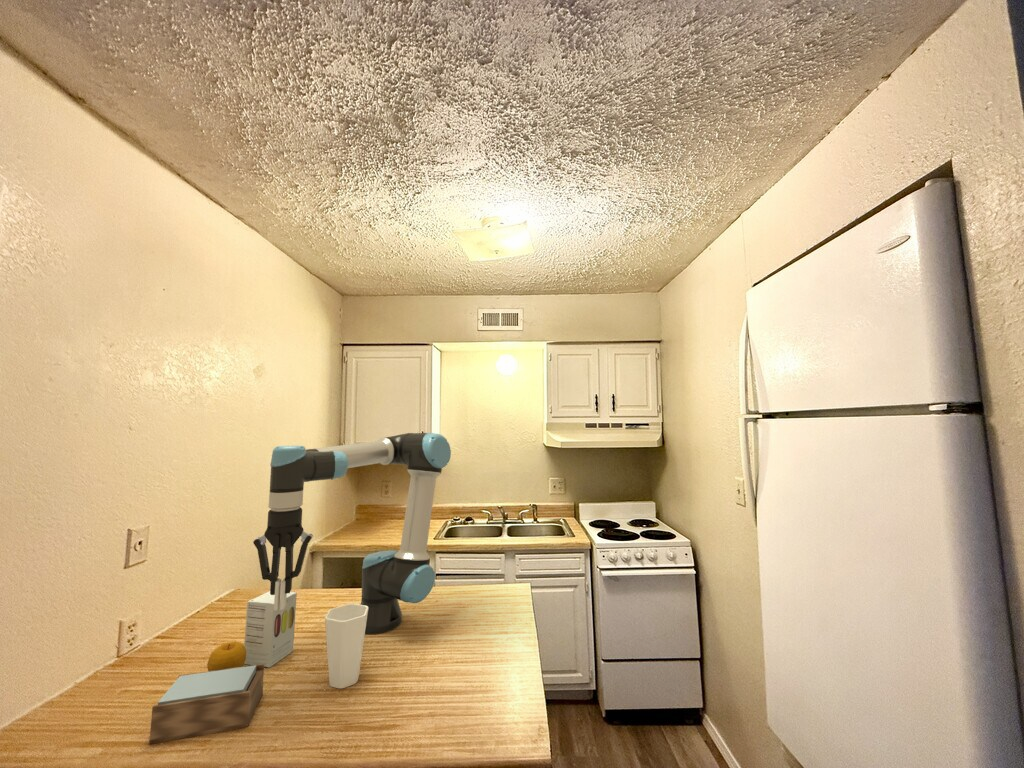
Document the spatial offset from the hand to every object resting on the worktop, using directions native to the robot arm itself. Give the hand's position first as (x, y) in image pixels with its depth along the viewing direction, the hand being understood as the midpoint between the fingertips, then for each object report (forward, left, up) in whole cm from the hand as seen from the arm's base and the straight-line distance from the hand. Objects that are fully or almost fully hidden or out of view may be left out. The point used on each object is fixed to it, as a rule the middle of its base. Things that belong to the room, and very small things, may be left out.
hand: (279, 607), depth 102 cm
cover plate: (+14, 0, -16) cm, 21 cm away
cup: (-15, -6, -23) cm, 28 cm away
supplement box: (+7, -24, -23) cm, 34 cm away
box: (+13, 0, -22) cm, 26 cm away
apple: (+15, -16, -23) cm, 31 cm away
